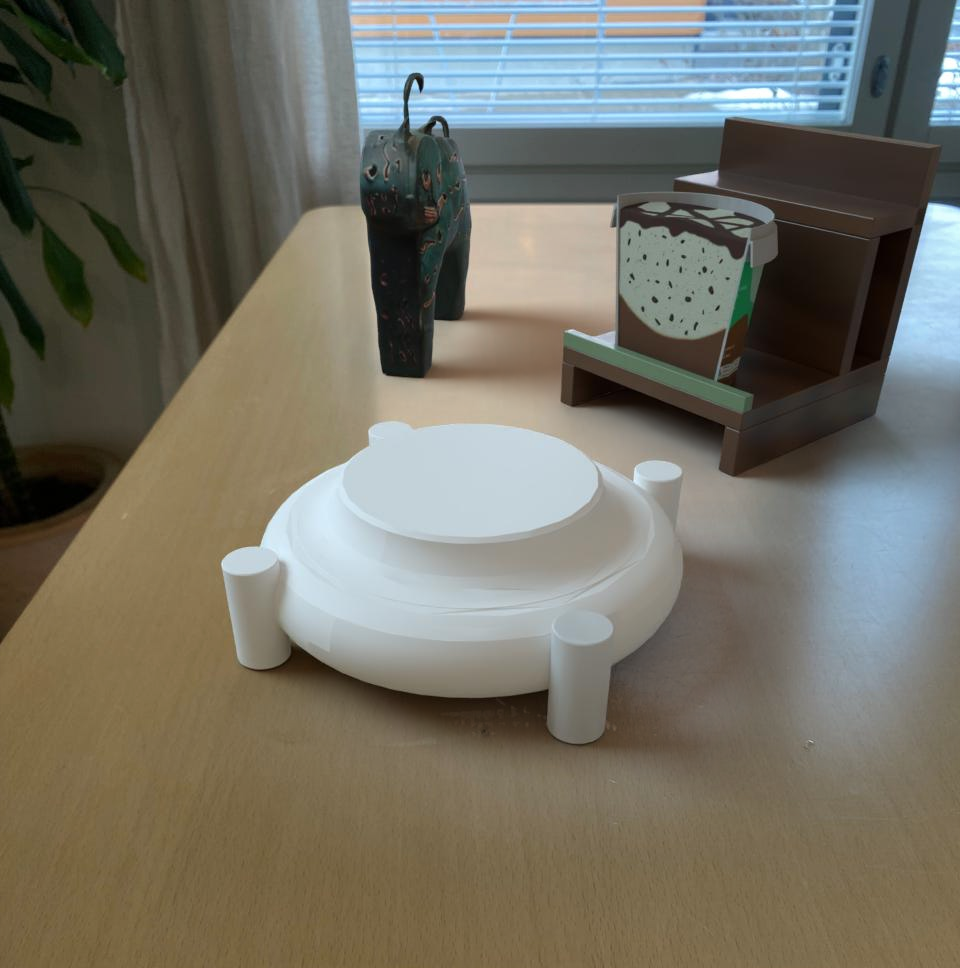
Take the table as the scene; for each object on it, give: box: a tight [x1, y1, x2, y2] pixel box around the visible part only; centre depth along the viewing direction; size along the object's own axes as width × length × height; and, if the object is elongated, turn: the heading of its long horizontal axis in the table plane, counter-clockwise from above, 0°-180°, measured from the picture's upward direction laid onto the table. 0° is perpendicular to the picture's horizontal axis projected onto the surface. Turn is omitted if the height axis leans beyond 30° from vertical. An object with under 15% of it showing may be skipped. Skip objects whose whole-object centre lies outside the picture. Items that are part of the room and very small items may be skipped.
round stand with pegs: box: [220, 420, 684, 745], centre depth 48 cm, size 24×24×7 cm
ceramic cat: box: [359, 72, 473, 378], centre depth 77 cm, size 20×6×20 cm, turn 168°
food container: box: [609, 191, 778, 385], centre depth 64 cm, size 12×6×10 cm, turn 36°
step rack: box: [560, 116, 943, 477], centre depth 66 cm, size 16×16×17 cm
